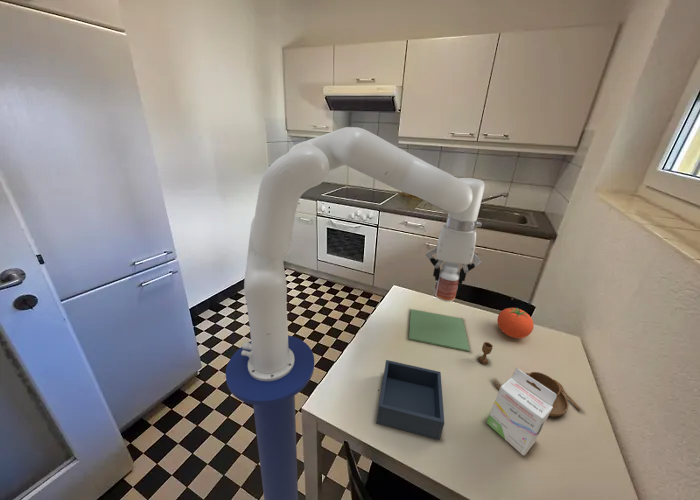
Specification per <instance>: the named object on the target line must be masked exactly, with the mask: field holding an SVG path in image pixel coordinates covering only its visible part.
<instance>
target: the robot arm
mask: <svg viewBox="0 0 700 500" xmlns="http://www.w3.org/2000/svg"><path fill="white" fill-rule="evenodd" d="M343 166H347V167H349V168H351V169H353V170H355V171H357V172H359V173H361V174H364V175H366V176H367V177H369V178H372V179H374V180H376V181H378V182H380V183H382V184H385V185H387V186H389V187H390V188H393V189H395V190H397V191H400V192H402V193H404V194H408V195H410V196H414V197H416V198H418V199H421V200H423V201H425V202H427V203H429V204H430V205H433V206H435V207H437V208H440V209H442V210H444V211H446V212H448V214H447V218H446V223H445V224H443V225H442V227H441V229H440V232H439V235H438V238H437V241H436V246H434V247H432V248H430V249H429V250H428V251H425V256H426V257H427V259H428V260H429V262H430V263H431V264H432V266H434V267H433V272H432V273H433V274H432V277H434V280H435V281H436V282H437V280H438V277H439V273H440V270H441V265H443V263H444V262H452V263H456V264H458V265H459V264H460V265H461V266H462V267H460V268H459V272H458V273H459V274H460V279H459V283H458V285H463V282H465V280H466V277H467V274H468V273H469V271H471V270H474V269H475V267H477V266H479V265H482V260H481V258H480V257H479V256H478V254H477V253H476V252H475V250H476V242H477V229H476V228H481V227H482V222H481V221H478V216H479V213H480V208H481V204H482V200H483V196H484V192H485V188H486V185H485V184H486V183H485V182H484V181H483V180H481V179H480V178H479V179H478V178H475V177H473V178H472V177H459V178H458V177H456V176H454V175H453V174H451V173H449V172H447V171H445V170H442V169H441V168H439V167H437V166H434V165H432V164H431V163H428V162H426V161H424V160H423V159H421V158H419V157H417V156H416V155H413V154H411V153H410V152H408V151H406V150H403V149H402V148H400V147H398V146H396V145H394V144H392V143H391V142H389V141H388V140H385V139H383V137H382V138H381V137H380V136H378V135H377V134H374V133H373V132H371V131H369V130H367V129H365V128H362V127H358V126H345V127H341V128H339V129H336V130H333V131H331V132H328V133H325V134H323V135H319V136H316V137H313V138H311V139H308V140H304V141H301V142H299V143H297V144H295V145H292V147H291V148H290V149H289V150H288V152H287V153H285V154H283V155H281V156H279V157H278V158H277V159H276V160H275V161H273V162H272V163H271V165H269V167H268V168H267V169H266V170H265V172H264V174H263V176H262V177H261V181H260V184H259V188H258V193H257V199H256V206H255V212H254V216H253V218H252V221H251V223H250V231H249V239H248V249H247V257H246V264H245V265H246V266H245V272H244V281H243V290H244V291H243V292H244V299H245V303H246V309H247V317H248V325H249V334H250V341H251V343H248V342H246V341H245V342H243V343H242V345H241V347H242V349H245V350H251V351H250V352H248V351H245V350H243V351H242V352H241V355H243V356H248V357H249V361H248V371H249V373H250V375H251V376H252V377H253V378H255V379H257V380H260V381H274V380H277V379H280V378H282V377H284V376H285V375H287V374H288V373H289V372H290V371H291V369H292V368H293V366H294V361H295V360H294V354H293V352H292V351H291V350H290V349H289V348H288V335H289V329H288V309H287V307H288V306H287V305H288V303H287V302H288V301H287V296H288V295H287V294H288V286H287V285H288V284H287V277H286V276H287V275H286V270H285V266H284V265H285V264H284V261H285V260H284V259H285V255H286V254H287V252H288V251H289V250H290V248H291V244H292V239H293V229H294V224H295V219H296V218H295V217H296V212H297V209H298V204H299V201H300V200H301V199H300V198H301V197H302V195H304V194H305V192H307V191H308V190H310V189H312V188H314V187H317V186H320V185H321V184H322V183H323V182H324V181H325V180H326V179H327V177H328V175H329V172H331V171H332V170H336V169H338V168H340V167H343ZM434 254H435V257H434V256H433V255H434Z"/></svg>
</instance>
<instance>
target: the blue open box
mask: <svg viewBox="0 0 700 500" xmlns="http://www.w3.org/2000/svg"><path fill="white" fill-rule="evenodd" d="M383 370H384V371H383V375H382V382H381V389H380V396H379V401H378V408H377V415H376V422H375V423H376V424H378V425H381V426H384V427H385V426H386V427H389V428H393V429H397V430H401V431H404V432H408V433H412V434H415V435H419V436H423V437H427V438H429V439H434V440H437V441H440V440H441V438H442V437H441V436H442V433H443V429H444V426H445V411H444V399H443V398H444V397H443V384H442V373H441V371H439V370H434V369H429V368H425V367H421V366H416V365H413V364H412V365H411V364H407V363H402V362H397V361H393V360H389V359H386V360H385V366H384V369H383Z"/></svg>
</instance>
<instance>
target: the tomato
mask: <svg viewBox="0 0 700 500" xmlns="http://www.w3.org/2000/svg"><path fill="white" fill-rule="evenodd" d="M496 321H497V325H498V328H499V329H500V330H501V332H502V333H504V334H505V335H506V336H508V337H511V338H514V339H523V338H526V337H528V336H530V334H532V332H533V331H534V326H535V325H534V321H533V318H532V317H531V316H530V314H528V312H526V311H525V310H522V309H521V308H518V307H507V308H504V309H503V310H501V311H500V312H499V313H498V315H497V320H496Z"/></svg>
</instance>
